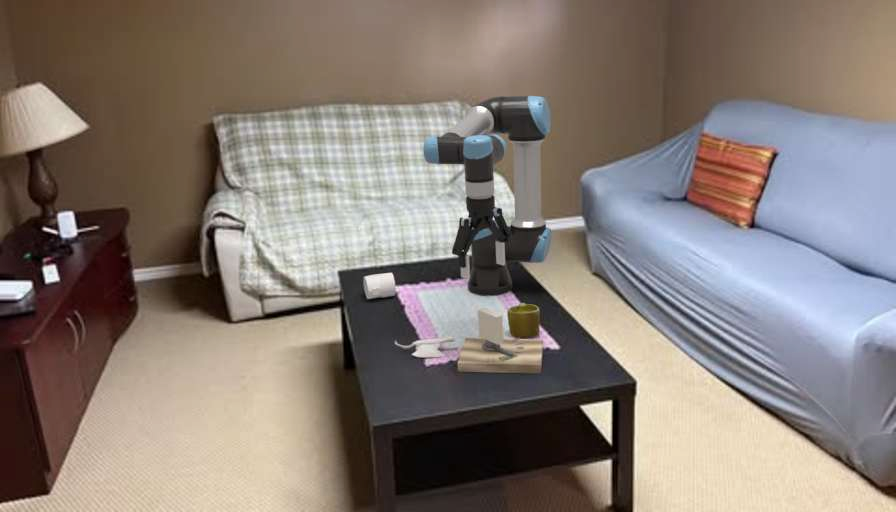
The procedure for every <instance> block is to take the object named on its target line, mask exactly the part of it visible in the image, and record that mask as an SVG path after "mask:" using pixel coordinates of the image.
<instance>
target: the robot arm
mask: <svg viewBox="0 0 896 512" xmlns="http://www.w3.org/2000/svg"><path fill="white" fill-rule="evenodd" d="M551 118H552V117H551V112H550V106H549V104H548V102H547V100H546V98H544V97H542V96H535V95H517V96H516V95H513V96H512V95H511V96H504V95H503V96H494V97H491V98H487V99H485V100H482V101H481V102H478V103H477V104H474V105H473V106H471V108H469V109H468V110H467V111H466V112H465V115H464V118H462V119H461V120H460V121H458V122H457V123H456V124H455V125H454V126H452V127H450V129H448V130H447V131H445V133H444V134H442V135H440V136H437V135H435V136H429V137H427V138H426V139H425V140H424V143H423V147H422V148H423V157H424V159H425V162H426V163H428V164H433V165H438V166H439V165H464V166H463V168H464V181H465V182H464V183H465V195H466V198H465V205H466V207H465V208H466V210H467V212H468V217H459V222H458V223H459V224H458V225H459V226H458V229H457V233H456V236H455V240H454V243H453V246H452V250H451V254H452V255H455V256H457V258H458V266H459V267H460V277H461V278H462V279H466V280H467V289H468V291H469V292H470V293H472V294H474V295H479V296H487V295H490V296H497V295H498V296H500V295H503V293H504V294H507V293H509V292H510V291H511V290H513V280H512V277H511V275H510V271H509V270H508V267H507V262H519V263H529V264H532V263H533V264H534V263H535V264H537V263H539V264H541V263H543V262H544V261H546V260H547V257H548V255H549V252H550V249H551V244H552V234H553V233H552V229H551V228H550V227H547V222H546V221H547V220H545V219H544V218H543V217H542V182H541V181H542V179H541V178H542V176H541V172H542V169H541V168H542V167H541V166H542V165H541V161H542V160H541V156H542V155H541V144H542V143H544V141H545V140H546V136H547V135H548V134H549V133H550V132H551V128H552V127H551V125H552V119H551ZM497 134H504V135H505V134H506V135H507V136H508V139H507V140H508V141H509V142H510V143H511V144H512V148H513V185H514V186H513V187H514V193H513V194H514V218H513V219H512V220H511V221H510V225H508V224H507V222H506V220H505V218H504V216H503V208H500V207H497V206H496V204H495V199H496V198H495V196H494V194H495V180H494V176H495V175H494V166H495V165H496V164H497V163H499V162H501V161H502V159H503V158H504V157H505V156H506V154H507V153H506V152H507V143H506V141H505V139H504V138H503V137H501V136H500V135H497ZM493 218H494V219H493ZM470 248H471V265H472V266H470V255H469V254H468V253H469V251H470ZM470 267H471V269H470Z"/></svg>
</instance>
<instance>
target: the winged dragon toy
mask: <svg viewBox="0 0 896 512" xmlns="http://www.w3.org/2000/svg"><path fill="white" fill-rule="evenodd" d="M455 341H456V338H455V337H453V336H447V337H445V338H427V339H420V340H419V339H418V340H416V341H413V342H412V343H411V344H409V345H403V344H399V343H398V342H397V340H394V345H396V346H397V347H400V348H403V349H405V350H408V349H411V348H412V347H415V351H414V352H413V353H412V354H411V355H412V356H413V357H416V358H440V357H439V356H441V357H443V356H442V355H444V356H448V353H446V354H444V352H441V350H439V348H440V346H442V345H446V344H445V343H454V342H455ZM443 343H444V344H443Z"/></svg>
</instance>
